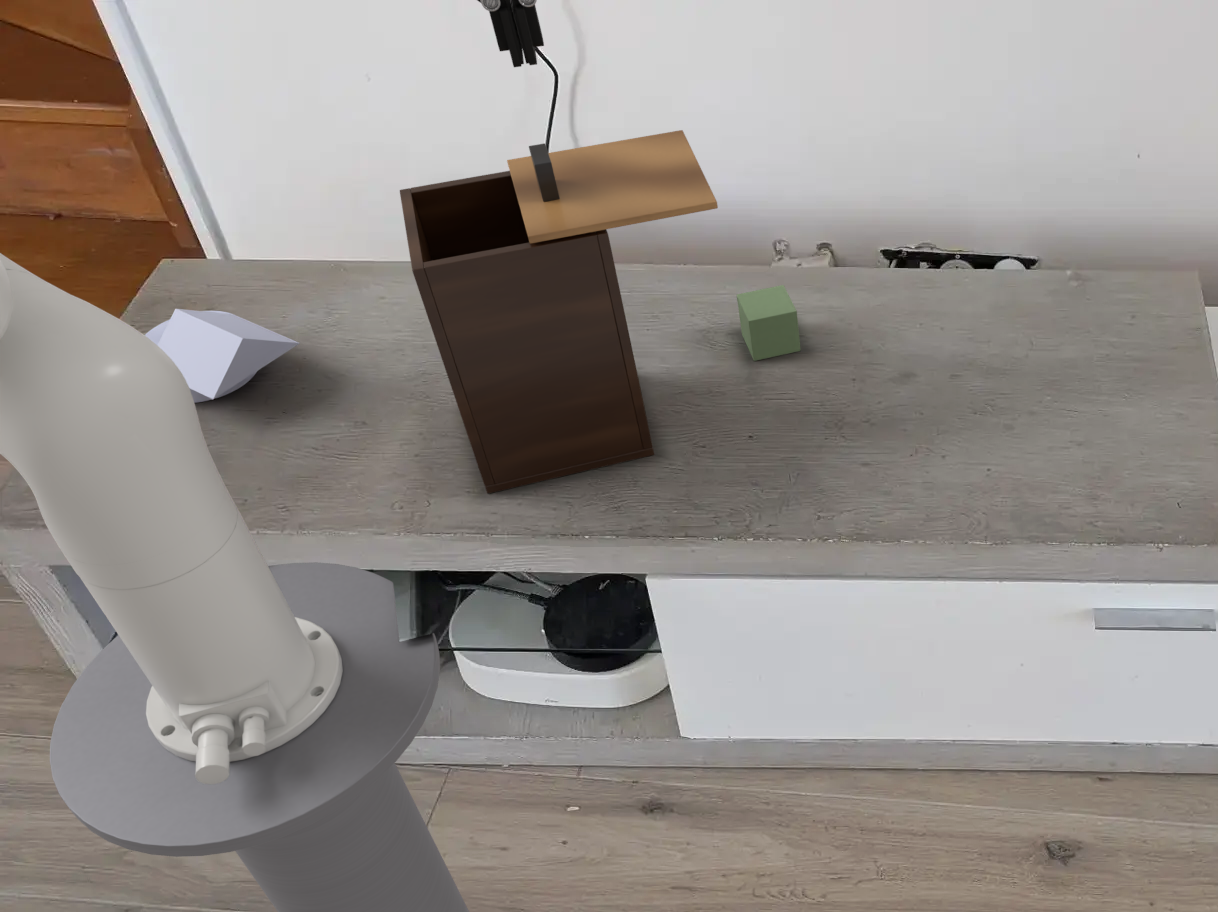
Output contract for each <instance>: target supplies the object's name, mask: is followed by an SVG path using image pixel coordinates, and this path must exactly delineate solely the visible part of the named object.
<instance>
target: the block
mask: <svg viewBox="0 0 1218 912" xmlns="http://www.w3.org/2000/svg"><path fill="white" fill-rule="evenodd" d="M736 301H737V302H736V303H737V309H738V316H739V323H740V324H739V325H740V331H741V336H742V338H743V340H744V342H745V344H746V347H747V349H748V351H749V354H750V356H751V358H752V360H753V361H754V362H756V361H760V360H765V359H770V358H774V357H780V356H785V355H787V354H788V355H789V354H792V353H797V352H801V340H800V339H801V338H800V330H799V320H798V319H799V318H798V310H797V308H796V307H795V305H794V303H793V300H792V299H791V297H790V294H789V293H788V290H787V288H786V287H785V285H784V284H781V285H776V286H771V287H766V288H762V289H757V290H751V291H748V292H747V291H746V292H741V293H737V294H736Z"/></svg>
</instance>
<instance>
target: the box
mask: <svg viewBox="0 0 1218 912" xmlns="http://www.w3.org/2000/svg"><path fill="white" fill-rule="evenodd" d="M399 196H400V197H399V198H400V203H401V208H402V216H403V220H404V227H405V234H406V240H407V241H406V242H407V246H408V252H409V259H410V265H411V271H412V274H413V277H414V280H415V283H416V287H417V289H418V292H419V296H420V298H421V301H422V304H423V307H424V310H425V313H426V316H427V319H428V322H429V324H430V328H431V331H432V334H433V337H434V340H435V343H436V345H437V349H438V352H439V354H440V358H441V360H442V363H443V366H444V369H445V372H446V376H447V379H448V381H449V384H450V388H451V390H452V393H453V396H454V399H455V403H456V405H457V408H458V411H459V414H460V417H461V420H462V423H463V426H464V429H465V432H466V434H467V438H468V441H469V443H470V447H471V450H472V452H473V456H474V459H475V462H476V464H477V467H478V472H479V473H480V476H481V479H482V482H483V486H484V488H485V491H486V494H493V493H498V492H501V491H505V490H509V489H513V488H518V487H523V486H527V485H531V484H535V483H541V482H543V481H548V480H552V479H558V478H561V477H566V476H570V475H574V474H578V473H582V472H587V471H591V470H595V469H600V468H604V467H608V466H613V465H617V464H622V463H625V462H629V461H634V460H637V459H642V458H647V457H651V456H655V450H654V447H653V441H652V437H651V432H650V429H649V428H650V427H649V422H648V417H647V414H646V413H647V412H646V408H645V403H644V398H643V394H642V389H641V388H642V387H641V385H640V379H639V374H638V370H637V365H636V361H635V355H634V350H633V346H632V341H631V338H630V333H629V332H630V331H629V327H628V322H627V317H626V313H625V312H626V311H625V308H624V303H623V298H622V293H621V288H620V284H619V280H618V275H617V269H616V265H615V260H614V256H613V250H612V247H611V242H610V236H609V233H608V229H605V230H600V231H595V232H589V233H584V234H579V235H573V236H568V237H563V238H558V239H552V240H547V241H542V242H536V243H530V242H529V239H528V235H527V231H526V228H525V224H524V221H523V217H522V213H521V210H520V206H519V203H518V199H517V195H516V192H515V188H514V185H513V181H512V177H511V174H510V170H505V171H500V172H494V173H488V174H483V175H477V176H471V177H465V178H460V179H454V180H448V181H441V182H437V183H430V184H425V185H419V186H414V187H409V188H402V189H399Z"/></svg>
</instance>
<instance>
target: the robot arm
mask: <svg viewBox="0 0 1218 912" xmlns="http://www.w3.org/2000/svg"><path fill="white" fill-rule="evenodd" d="M476 1H477V2H478V3H480V4H481V6H482V7H483V8H484V10H486V11H488V13H489V16H490V20H491V24H492V28H493V32H494V35H495V39H496V43H497V46H498V50H499V52H507V51H509V54H510V58H511V62H512V66H513V68H521V67H522V65H524V64H528V65H529V66H534V65H538V60H537V52H536V48H538V47H544V46H545V42H544V37H543V33H542V28H541V23H540V21H539V16H538V11H537V7H536V4H537V0H476ZM524 60H525V61H524ZM0 456H2V457H3V458H5V460H6V461H8V462H9V463H10V464H11V465H12V466H13V467H14V469H16V471H17V472H18V473H19V474H20V475H21V477H22V478H23V480H24V481H25V482H26V484H27V485H28V487H29V488H30V490H31V491H32V494H33V495H34V498H35V500H36V503H37V506H38V509H39V513H40V514H41V517H42V519H43V521H44V523H45V526H46V527H47V530H48V531H49V534H50V535H51V537H52V538H53V540H54V542H55V543H56V545H57V547H58V548H59V550H60V551H61V553H62V554H63V556H64V557H65V559H66V560H67V562H68V563H69V565H70V567H71V568H72V569H73V571H74V572H75V574H76V575H77V576H78V577H79V579H80V580H81V582H82V583H83V585H84V586H85V587H86V589H87V591H88V592H89V593H90V595H91V596H92V598H93V599H94V601H95V603H96V604H97V606H98V607H99V608H100V610H101V612H102V613H103V614H104V616H105V617H106V619H107V621H109V623H110V624H111V626H112V628H113V629H114V631H115V632H116V634H117V636H118V635H119V636H120V638H121V639H122V641H123V642H124V644H125V645H126V647H127V648H128V650H129V651H130V653H131V654H132V656H133V657H134V659H135V660H136V662H137V663H138V665H139V666H140V668H141V669H142V671H143V672H144V674H145V675H146V677H147V678H148V680H149V681H150V683H151V684H152V687H151V690H150V693H149V696H148V699H147V706H146V716H147V721H148V725H149V727H150V729H151V731H152V732H153V734H154V735H155V737H156V739H157V740H158V741H159V742H160V743H161V745H162V746H163V747H164V748H165V749H167V750H168V751H170V752H171V753H173V754H174V755H176V756H178V757H181V758H184V759H187V760H190V761H196V773H195V777H196V779H197V780H198V781H199V782H201V783H204V784H217V783H221V782H223V781H225V780H226V779H227V778H228V776H229V765H230V762H232V761H238V760H244V759H247V758H250V757H254V756H259V755H261V754H263V753H265V752H268V751H270V750H272V749H274V748H277V747H279V746H281V745H283V744H284V743H286V742H288V741H289V740H291V739H293V738H294V737H296V736H298V735H299V734H300V733H302V732H303V731H304V730H305V729H307V728H308V727H309V726H310V725H312V724H313V723H314V722H315V721H316V720H317V719H318V718H319V717H320V716H321V714H322V713H323V712H324V711H325V710H326V709H327V707H328V706H329V704H330V703H331V701H332V700H333V698H334V697H335V694H336V692H337V690H338V688H339V685H340V682H341V677H342V672H343V670H342V658H341V656H340V653H339V650H338V648H337V646H336V645H335V643H334V641H333V639H332V637H331V636H330V635H329V634H328V633H327V632H326V631H325V630H324V629H323V628H321V627H320V626H318V625H316V624H314V623H313V622H310V621H307V620H304V619H301V618H298V617H294V615H293V613H292V611H291V609H290V607H289V605H288V604H287V602H286V600H285V598H284V596H283V594H282V592H281V590H280V588H279V586H278V584H277V582H276V581H275V579H274V577H273V575H272V573H271V571H270V569H269V567H268V566H269V565H268V564H267V561H266V559H265V557H264V555H263V553H262V552H261V550H260V548H259V546H258V544H257V542H256V541H255V539H254V537H253V535H252V532H251V531H250V529H249V527H248V525H247V523H246V521H245V519H244V517H243V515H242V514H241V512H240V509H239V508H238V506H237V504H236V502H235V501H234V499H233V498H232V496H231V494H230V491H229V490H228V487H227V485H226V484H225V482H224V480H223V478H222V475H221V474H220V472H219V470H218V467H217V465H216V463H215V461H214V459H213V457H212V455H211V453H210V449H209V447H208V445H207V442H206V439H205V437H204V433H203V429H202V426H201V421H200V419H199V415H198V411H197V407H196V403H194V400H193V397H192V394H191V391H190V388H189V386H188V384H187V382H186V380H185V378H184V376H183V374H182V373H181V371H180V370H179V368H178V367H177V366H176V364H175V363H174V362H173V361H172V360H171V359H170V357H169V356H168V355H167V354H166V353H165V352H164V351H163V350H162V349H161V348H160V347H159V346H157V345H156V344H155V343H154V342H153V341H151V340H150V339H149V338H148V337H146V336H145V334H144V333H142V332H141V331H140V330H138V329H136V328H135V327H133V326H132V325H130V324H129V323H128V322H125V321H123V320H121V319H120V318H118V317H116V316H115V315H113V314H111V313H109V312H107V311H105V310H104V309H102V308H100V307H98V306H96V305H94V304H92V303H91V302H88V301H86V300H85V299H82V298H80V297H78V296H75V295H73V294H71V293H69V292H67V291H65V290H64V289H61V288H59V287H57V286H56V285H54V284H52V283H50V282H48V281H46V280H45V279H43V278H41V277H39V276H38V275H36V274H34V273H32V272H31V271H29V270H28V269H26V268H25V267H23V266H22V265H20V264H18V263H16V262H15V261H13V260H11V259H10V258H8V256H6V255H5V254H2V252H0Z"/></svg>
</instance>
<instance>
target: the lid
mask: <svg viewBox="0 0 1218 912" xmlns="http://www.w3.org/2000/svg"><path fill="white" fill-rule="evenodd" d="M528 150H529V154H530V155H529V156H528V155H527V156H523V157H517V158H511V159H507V160H506V162H507V167H508V171H510V174H511V177H512V181H513V185H514V188H515V192H516V195H517V199H518V203H519V206H520V210H521V213H522V217H523V221H524V224H525V228H526V231H527V235H528V239H529V242H530V243H536V242H542V241H547V240H552V239H558V238H563V237H568V236H573V235H579V234H584V233H589V232H595V231H600V230H605V229H607V230H611V229H616V228H621V227H626V226H627V227H628V226H631V225H637V224H641V223H648V222H653V221H658V220H664V219H669V218H674V217H679V216H684V215H689V214H696V213H700V212H706V211H711V210H716V209H718V207H719V205H718V201H717V199H716V197H715V194H714V193H713V190H712V188H711V186H710V185H709V183H708V180H707V178H706V176H705V173H704V172H703V170H702V168H701V165H700V163H699V162H698V159H697V158H696V155H695V154H694V151H693V149H692V147H691V144H690V142H689V141H688V139H687V136H686V134H685V132H684V130H683V129H681V130H675V131H674V130H673V131H668V132H663V133H656V134H651V135H643V136H640V137H634V138H627V139H622V140H616V141H610V142H604V143H598V144H592V145H587V146H581V147H576V148H575V147H574V148H569V149H563V150H557V151H552V152H551V151H550V152H549V151H548V147H547V144H546V143H540V144H539V143H538V144H533V145H528Z"/></svg>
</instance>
